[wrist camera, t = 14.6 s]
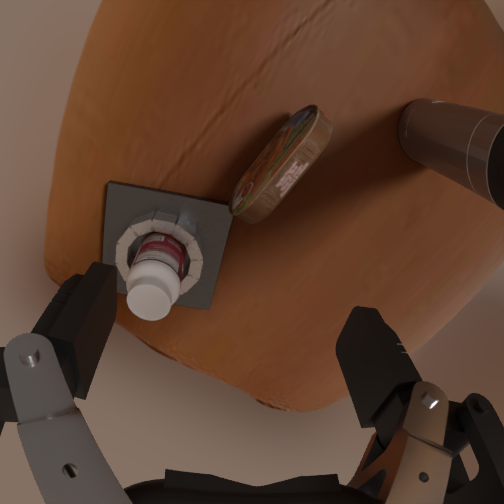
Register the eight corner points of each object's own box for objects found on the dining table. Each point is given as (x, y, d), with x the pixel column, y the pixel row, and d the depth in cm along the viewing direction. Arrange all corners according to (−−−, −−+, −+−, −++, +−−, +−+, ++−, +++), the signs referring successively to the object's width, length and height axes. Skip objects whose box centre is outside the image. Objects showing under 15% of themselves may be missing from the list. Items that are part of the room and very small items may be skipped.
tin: (303, 101, 35) (324, 104, 27) (322, 117, 36) (348, 126, 28) (225, 196, 40) (226, 223, 32) (245, 210, 41) (251, 240, 33)
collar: (234, 204, 40) (236, 215, 37) (209, 305, 47) (208, 321, 44) (110, 180, 37) (101, 189, 34) (103, 285, 44) (97, 299, 41)
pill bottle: (169, 280, 43) (158, 335, 34) (131, 256, 41) (109, 307, 31) (195, 248, 41) (189, 300, 32) (156, 221, 39) (137, 267, 29)
